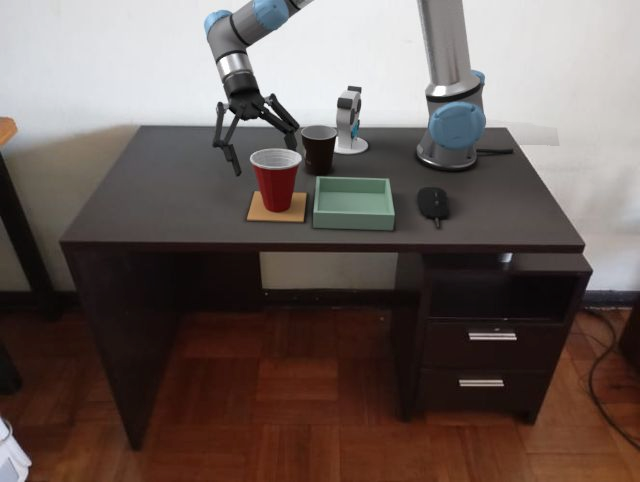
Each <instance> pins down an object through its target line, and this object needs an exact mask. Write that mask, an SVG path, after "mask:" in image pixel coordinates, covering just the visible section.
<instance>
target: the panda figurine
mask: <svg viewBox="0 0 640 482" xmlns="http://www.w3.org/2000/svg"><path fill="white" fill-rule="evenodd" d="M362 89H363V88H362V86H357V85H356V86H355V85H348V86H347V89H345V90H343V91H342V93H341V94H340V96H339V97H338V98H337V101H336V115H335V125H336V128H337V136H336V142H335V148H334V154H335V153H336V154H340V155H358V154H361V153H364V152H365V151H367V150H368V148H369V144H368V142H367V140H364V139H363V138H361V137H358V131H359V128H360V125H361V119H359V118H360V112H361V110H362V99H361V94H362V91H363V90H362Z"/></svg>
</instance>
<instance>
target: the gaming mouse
mask: <svg viewBox="0 0 640 482" xmlns="http://www.w3.org/2000/svg"><path fill="white" fill-rule="evenodd" d="M448 199H449V198H448V193H447V192H446V190H445V189H443V188H441V187H439V186H425V187H422V188H420V189H419V191H418V192H417V201H418V205H419V208H420V210H421V213H422V215H424V216H425V217H426V218H430V219H434V220H435V223H436V227H437V229H439V228H440V220H441V219H445V218H446V217H448V215H449V201H448Z"/></svg>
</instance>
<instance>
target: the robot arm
mask: <svg viewBox="0 0 640 482" xmlns="http://www.w3.org/2000/svg"><path fill="white" fill-rule="evenodd" d="M314 1H315V0H250V1H248V2H247V3H246V4H244V5H242V7H240V8H239V9H237V10H236V11H234V12H232V11H230V10H228V9H217V11H213V12H211V13H209V14H208V15H207V16H206V17H205V19H204V22H203V28H204V32H205V35H206V41H207V44H208V46H209V48H210V52H211V54H212V56H213V59H214V63H215V66H216V69H217V72H218V75H219V79H220V81H221V84H222V89H223V90H224V94H225V96H226V97H225V98H226V100H227V102H226V103H225V102H224V103H223V102H222V101H218V102H216V103H217V104H216V106H215V113H216V116H217V117H216V122H215V127H214V133H213V138H212V144H211V146H212V148H214V149H217V148H220V150H221V151H222V152H223V155H224V158H225V161H226V162H227V163H231V165H232V169H233V172H234V175H235V177H236V178H237V177H240V176H241V175H242V173H243V171H242V168H241V165H240V162H239V159H238V156H237V153H236V149H235V147H234V144H233V143H230V141H231V139H232V137H233V134H234V132H235V130H236V128H237V126H238V124H239V122H240V120H241V121H243V122H248V121H250V120H253V121H254V120H258V118H259V119H260V120H262V121H265V122H266V123H268V124H270V125H271V126H272V127H274V128H275V129H277V130H278V131H279V132H281V133H282V134H283V135H284V136H283V140H284V143H285V146H286V149H287V150H292V151H294V152H297V153H298V151H297V148H298V144H299V143H298V141H297V137H296V135H295V133H297V132H298V130H299V129H300V127H301V125H300V123H299V122H298V121H297V120H296V119H295V117H293V115H291V113H290V112H289V110H287V109H286V108H285V107H284V106H283V105H282V104H281V103H280V102H279V99H278V97H277V96H276V94H275V93H273V92H272V93H270V95H267V96H263V95H262V93H261V91H260V86H259V83H258V81H257V78H256V76H255V75H254V74H255V71H254V69H253V66H252V64H251V61H250V57H249V55H248V52H247V49H249V47H251V46H253V45H254V44H255V43H257V42H259V41H260V40H262V39H263V38H265V37H267V36H269V35H270V34H271V33H273V32H275V31H277V30H279V29H280V28H281V27H282V26H283V25H285V24H286V23H287V22H288V21H289V19H290V18H292V17H293V16H294V15H296V14H297V13H299V12H300V11H301V10H302V9H304V8H306V7H307V6H308V5H310V4H311V3H312V2H314ZM463 3H464V2H463V0H416V5H417V12H418V18H419V22H420V28H421V34H422V40H423V46H424V53H425V58H426V64H427V69H428V75H429V81H430V82H429V83H428V85H427V86H426V88H425V89H424V94H425V100H426V107H427V112H428V116H429V117H428V122H427V127H426V130H425V132H424V134H423V136H422V138H421V140H420V142H419V143H417V146H416V159H417V161H418V162H420V163H421V164H422V165H423V166H426V167H428V168H431V169H434V170H438V171H442V172H443V171H444V172H462V171H466V170H469V169H471V168H473V167H474V166H475V164H476V160H477V154H480V153H481V154H510V153H514V148H505V149H504V148H503V149H497V148H496V149H492V148H476V143H478V141H479V140H480V139H481V138H482V136H483V134H484V132H485V130H486V129H485V128H486V125H487V118H486V114H485V109H484V101H483V91H484V87H485V85H486V83H485V82H486V75H485V74H484V73H483V72H481V71H479V70H477V69H472V67H471V58H470V57H471V56H470V50H469V42H468V36H467V34H468V33H467V26H466V19H465V12H464V11H465V10H464V4H463ZM265 104H266V105H267V107H266V106H265ZM268 107H270V108H271V110H272V111H273V112H272V111H271V110H270V109H269V108H268ZM228 110H229V112H231V113H232V114H233V115H234V117H233V119H232V121H231V123H230V125H229V127H228V129H227V132H226V134H225V136H224V138H223V139H221V135H222V129H223V126H224V125H223V124H224V119H225V115H226V114H227V111H228ZM274 113H275V114H274ZM229 143H230V144H229Z"/></svg>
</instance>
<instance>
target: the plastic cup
mask: <svg viewBox="0 0 640 482" xmlns="http://www.w3.org/2000/svg"><path fill="white" fill-rule="evenodd" d="M249 161H250V163H251V164H252V166H253V169H254V173H255V177H256V181H257V185H258V188H259V191H260V193H261V195H262V199H263V204H264V206H265V208H266V209H267V210H268V211H271V212H283V211H286V210H288V209H289V208H290V205H291V201H292V195H293V192H294V191H295V185H296V184H295V183H296V179H297V174H298V169H299V167H300V164H301V163H302V161H303V159H302V154H300V153H299V152H298V151H297V152H294V151H292V150H288V149H287V148H286V149H285V148H265V149H264V148H263V149H261V150H257V151H255V152H254V153H251V155H250V157H249Z"/></svg>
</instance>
